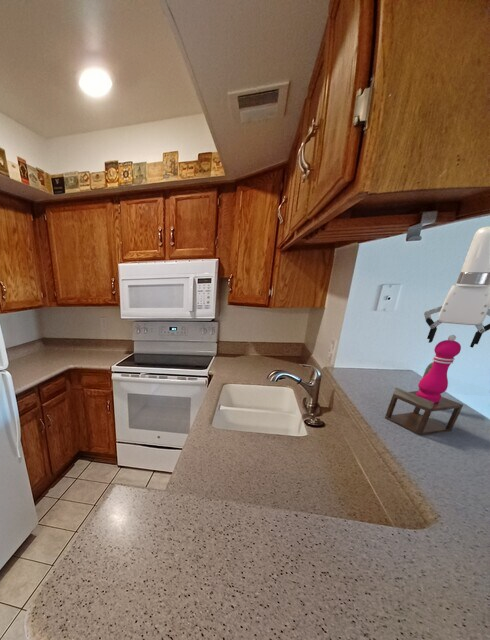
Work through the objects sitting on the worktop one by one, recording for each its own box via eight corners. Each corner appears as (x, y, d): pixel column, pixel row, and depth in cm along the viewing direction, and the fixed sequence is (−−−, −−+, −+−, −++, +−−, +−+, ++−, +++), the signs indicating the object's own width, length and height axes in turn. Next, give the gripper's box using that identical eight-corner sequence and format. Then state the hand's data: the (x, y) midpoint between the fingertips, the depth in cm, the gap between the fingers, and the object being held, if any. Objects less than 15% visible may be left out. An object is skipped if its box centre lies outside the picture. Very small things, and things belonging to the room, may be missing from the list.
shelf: (414, 414, 116) (426, 384, 110) (451, 430, 104) (466, 398, 99) (384, 418, 113) (395, 387, 108) (418, 435, 102) (432, 402, 96)
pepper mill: (439, 405, 100) (468, 338, 90) (411, 399, 104) (436, 335, 95) (442, 398, 105) (470, 334, 95) (415, 393, 109) (439, 331, 99)
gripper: (519, 280, 85) (489, 346, 93) (437, 278, 96) (417, 338, 104) (520, 281, 80) (489, 351, 88) (434, 279, 91) (413, 342, 99)
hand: (450, 344), depth 96 cm, fingers open, 9 cm apart
